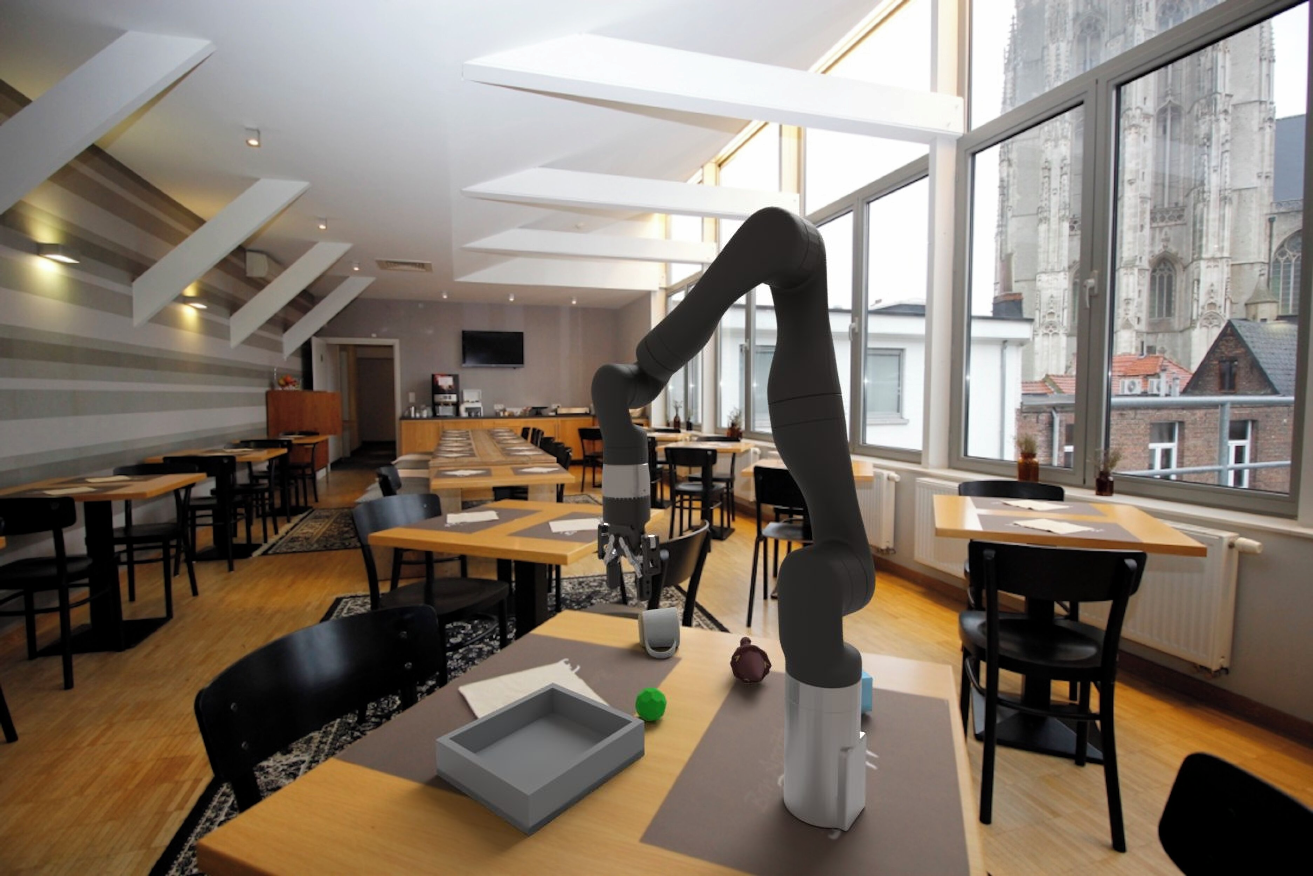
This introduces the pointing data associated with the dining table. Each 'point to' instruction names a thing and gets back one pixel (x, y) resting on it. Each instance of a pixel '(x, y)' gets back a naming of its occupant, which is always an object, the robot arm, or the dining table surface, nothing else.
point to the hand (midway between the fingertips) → (628, 593)
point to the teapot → (866, 692)
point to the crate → (539, 754)
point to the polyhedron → (650, 704)
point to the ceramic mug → (659, 630)
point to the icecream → (750, 662)
